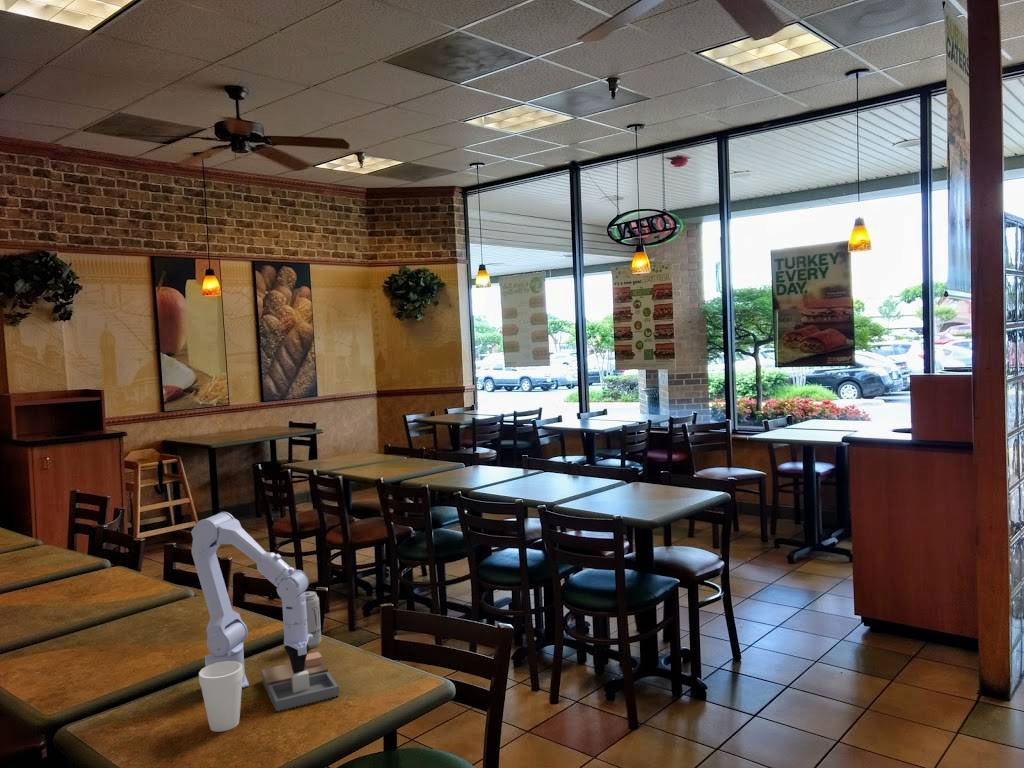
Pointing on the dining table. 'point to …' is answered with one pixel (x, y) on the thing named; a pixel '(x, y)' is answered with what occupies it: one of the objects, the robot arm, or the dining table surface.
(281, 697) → the box
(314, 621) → the energy drink can
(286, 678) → the board
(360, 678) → the dining table surface
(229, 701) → the foam cup
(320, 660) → the tile
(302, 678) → the tile
